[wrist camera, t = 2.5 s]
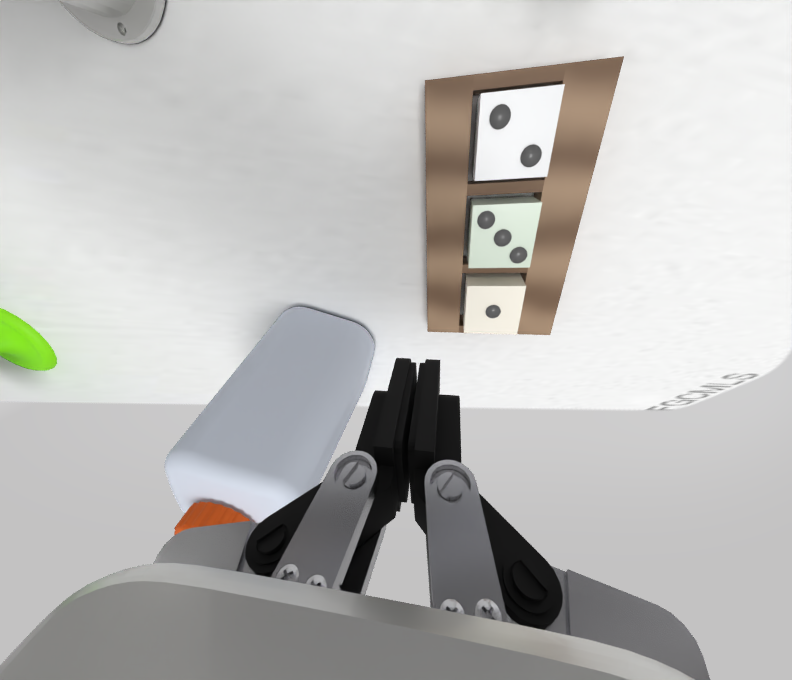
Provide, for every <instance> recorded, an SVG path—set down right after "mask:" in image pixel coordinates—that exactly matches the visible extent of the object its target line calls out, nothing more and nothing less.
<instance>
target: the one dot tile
mask: <svg viewBox="0 0 792 680" xmlns="http://www.w3.org/2000/svg"><path fill="white" fill-rule="evenodd" d="M525 290H526V285H525V283H524V281H523V279H522V277H521V275H520V273H466V278H465V293H464V308H463V326H464V333H478V334H515V335H517V332H518V327H519V322H520V316H521V311H522V306H523V301H524V295H525Z"/></svg>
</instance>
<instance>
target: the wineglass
mask: <svg viewBox="0 0 792 680" xmlns="http://www.w3.org/2000/svg"><path fill="white" fill-rule="evenodd" d="M0 356H2V357H3V358H5V359H6V360H8V361H10V362H12V363H14V364H16V365H19V366H21V367H24V368H27V369H32V370H49V369H52V368H54V367H55V366H56V364H57V358H56V356H55V353H54V351H53V349H52V348H51V347H50V345H49V344H48V342H47V341H46V340H45V339H44V338H43V337H42V336H41V335H40V334H39V333H38V332H37V331H36V330H34V329H33V328H32V327H31V326H30V325H29V324H27V323H26V322H24V321H23V320H21V319H20V318H18V317H17V316H15V315H13V314H11V313H9V312H8V311H6V310H4V309H1V308H0Z"/></svg>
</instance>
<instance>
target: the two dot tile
mask: <svg viewBox="0 0 792 680" xmlns="http://www.w3.org/2000/svg"><path fill="white" fill-rule="evenodd" d="M564 86H565V84H562V85H553V86H544V87H534V88H525V89H516V90H507V91H498V92H489V93H481V94H480V96H479V98H478V99H477V113H476V128H475V143H474V158H473V173H472V177H473V179H474V181H484V180H501V179H517V178H534V177H547V175H548V170H549V164H550V159H551V154H552V149H553V143H554V138H555V133H556V128H557V122H558V117H559V112H560V107H561V102H562V96H563V91H564Z"/></svg>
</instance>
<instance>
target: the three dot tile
mask: <svg viewBox="0 0 792 680" xmlns="http://www.w3.org/2000/svg"><path fill="white" fill-rule="evenodd" d="M541 206H542V202H541V201H539V200H538V199H536V198H535V197H533V196H516V197H496V198H476V199H471V203H470V218H469V233H468V248H467V260H468V268H530V264H531V259H532V253H533V248H534V243H535V238H536V232H537V227H538V222H539V217H540V212H541Z"/></svg>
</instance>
